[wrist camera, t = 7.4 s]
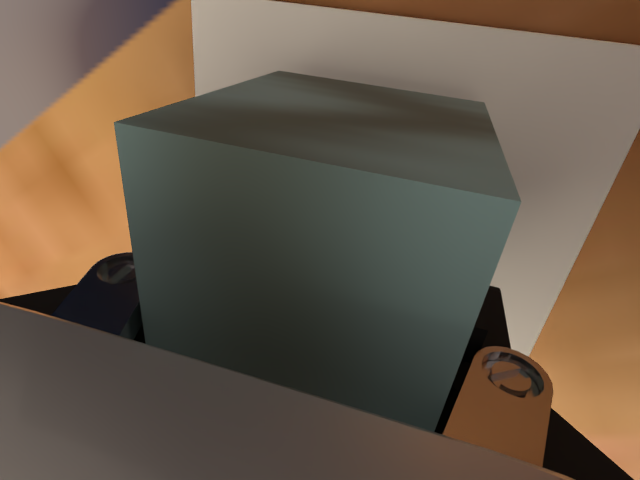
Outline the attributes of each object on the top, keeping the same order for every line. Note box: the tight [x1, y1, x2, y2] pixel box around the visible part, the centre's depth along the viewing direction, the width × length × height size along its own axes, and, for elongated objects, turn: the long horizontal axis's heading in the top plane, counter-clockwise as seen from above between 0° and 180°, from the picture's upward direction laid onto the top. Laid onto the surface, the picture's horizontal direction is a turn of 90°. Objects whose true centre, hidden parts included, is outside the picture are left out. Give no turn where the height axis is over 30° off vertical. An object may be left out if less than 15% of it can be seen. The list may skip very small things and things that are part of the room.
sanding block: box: [114, 71, 521, 432], centre depth 10 cm, size 5×9×6 cm, turn 173°
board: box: [191, 0, 640, 357], centre depth 18 cm, size 13×24×2 cm, turn 173°
